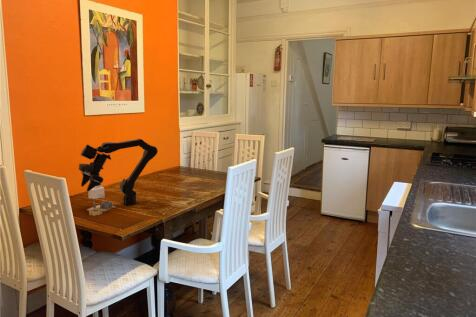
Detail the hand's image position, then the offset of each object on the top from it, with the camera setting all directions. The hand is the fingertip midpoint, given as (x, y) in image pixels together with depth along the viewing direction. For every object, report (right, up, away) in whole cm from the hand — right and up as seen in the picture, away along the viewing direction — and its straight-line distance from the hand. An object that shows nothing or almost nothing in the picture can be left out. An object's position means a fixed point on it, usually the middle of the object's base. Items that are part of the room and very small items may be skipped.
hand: (84, 188), depth 200 cm
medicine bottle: (-5, -9, +30) cm, 32 cm away
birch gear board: (+7, -13, +6) cm, 16 cm away
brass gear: (+8, -14, -4) cm, 17 cm away
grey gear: (+10, -11, +6) cm, 16 cm away
